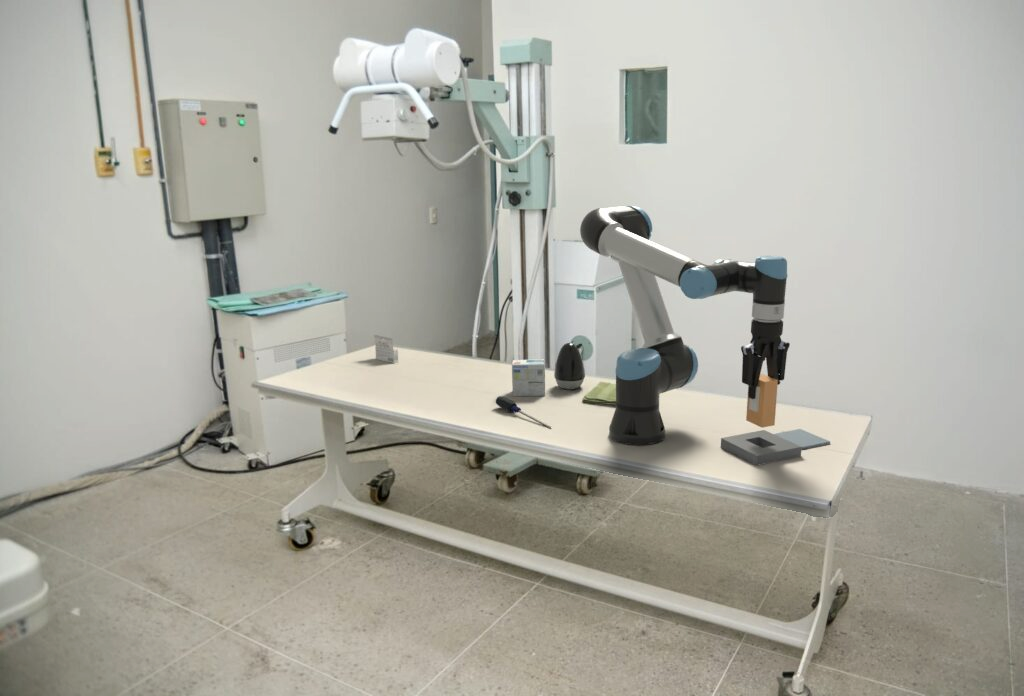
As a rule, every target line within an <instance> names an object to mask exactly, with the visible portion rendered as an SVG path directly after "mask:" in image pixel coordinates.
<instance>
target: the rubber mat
mask: <svg viewBox="0 0 1024 696" xmlns="http://www.w3.org/2000/svg"><path fill="white" fill-rule="evenodd" d="M773 434H774V435H776V436H779V437H781V438H783V439H785V440H788V441H790V442H792V443H794V444H796V445H799V446H801V447H802V448H801V450H805V449H810V448H815V447H820V446H824V445H825V444H826V445H829V444H831V441H830V440H828V439H825V438H824V437H820V436H818V435H816V434H813V433H811V432H809V431H806V430H803V429H802V428H797V429H793V430H787V431H781V432H777V433H773Z"/></svg>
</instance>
